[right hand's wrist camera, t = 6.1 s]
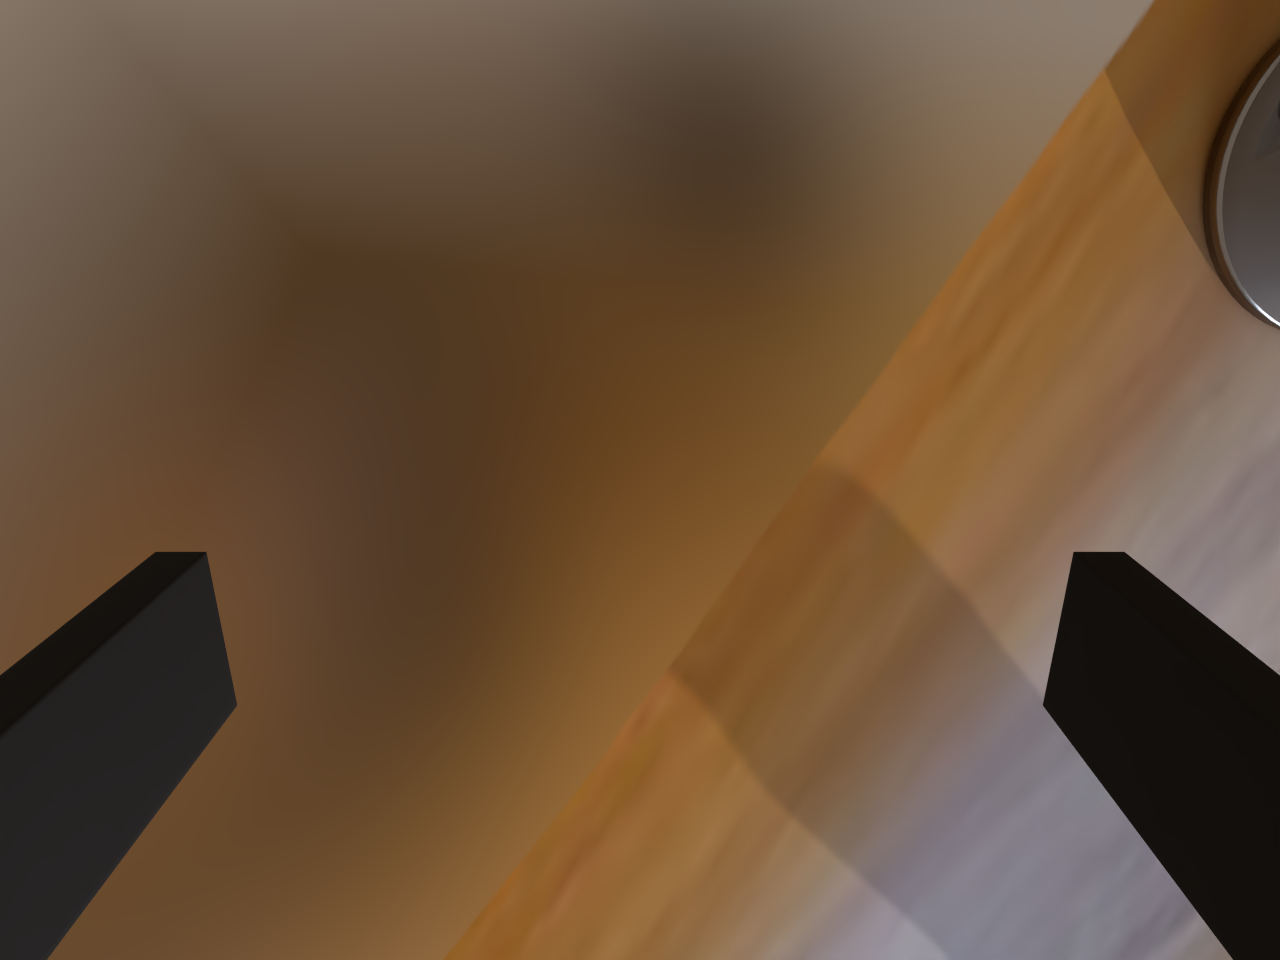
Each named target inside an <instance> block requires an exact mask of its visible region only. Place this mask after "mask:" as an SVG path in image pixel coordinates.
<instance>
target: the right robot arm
mask: <svg viewBox="0 0 1280 960" xmlns="http://www.w3.org/2000/svg"><path fill="white" fill-rule="evenodd" d="M1203 219H1204V230H1205V236H1206V242H1207V246H1208V249H1209V253H1210V256H1211V259H1212V262H1213V264H1214V266H1215V269H1216V271H1217V273H1218V275H1219V277H1220V279H1221V280H1222V282H1223V284H1224V285H1225V287H1226V288H1227V290H1228V291H1229V292H1230V294H1231V295H1232V296H1233V297H1234V298H1235V299H1236V301H1237V302H1238V303H1239V304H1240V305H1241V306H1242V307H1243V308H1245V309H1246V310H1247V311H1248V312H1249V313H1251V314H1252V315H1253V316H1255V317H1256V318H1258V319H1259V320H1261V321H1263V322H1264V323H1266V324H1268V325H1270V326H1272V327H1274V328H1276V329H1279V330H1280V40H1279V41H1278V42H1277V43H1276V44H1275V45H1274V46H1273V47H1272V48H1271V49H1270V50H1269V51H1268V53H1267V54H1266V55H1265V56H1264V57H1263V59H1262V60H1261V61H1260V62H1259V63H1258V65H1257V66H1256V67H1255V68H1254V70H1253V71H1252V73H1251V74H1250V75H1249V77H1248V78H1247V80H1246V81H1245V82H1244V84H1243V85H1242V87H1241V89H1240V90H1239V92H1238V94H1237V95H1236V97H1235V99H1234V100H1233V102H1232V104H1231V106H1230V108H1229V110H1228V112H1227V114H1226V116H1225V118H1224V120H1223V122H1222V125H1221V127H1220V129H1219V132H1218V134H1217V137H1216V140H1215V143H1214V146H1213V149H1212V152H1211V155H1210V159H1209V164H1208V168H1207V172H1206V179H1205V186H1204V196H1203ZM236 706H237V702H236V697H235V693H234V687H233V682H232V677H231V673H230V668H229V663H228V658H227V653H226V648H225V643H224V638H223V633H222V628H221V623H220V618H219V613H218V608H217V603H216V598H215V593H214V588H213V583H212V578H211V573H210V568H209V563H208V558H207V553H206V552H155V553H154V554H152V555H151V556H150V557H149V558H147V559H146V560H145V561H144V562H142V563H141V564H140V565H139V566H137V567H136V568H135V569H134V570H132V571H131V572H130V573H129V574H127V575H126V576H125V577H124V578H122V579H121V580H120V581H118V582H117V583H116V584H115V585H113V586H112V587H111V588H110V589H108V590H107V591H106V592H105V593H103V594H102V595H101V596H100V597H98V598H97V599H96V600H95V601H93V602H92V603H91V604H90V605H88V606H87V607H86V608H85V609H83V610H82V611H81V612H80V613H78V614H77V615H76V616H74V617H73V618H72V619H71V620H69V621H68V622H67V623H66V624H64V625H63V626H62V627H61V628H59V629H58V630H57V631H56V632H54V633H53V634H52V635H51V636H49V637H48V638H47V639H45V640H44V641H43V642H42V643H40V644H39V645H38V646H37V647H35V648H34V649H33V650H32V651H30V652H29V653H28V654H27V655H25V656H24V657H23V658H22V659H20V660H19V661H18V662H17V663H15V664H14V665H13V666H12V667H10V668H9V669H8V670H6V671H5V672H4V673H3V674H1V675H0V960H47V959H48V957H49V956H50V955H51V953H52V952H53V951H54V949H55V948H56V947H57V945H58V944H59V943H60V941H61V940H62V939H63V937H64V936H65V935H66V933H67V932H68V931H69V929H70V928H71V927H72V925H73V924H74V923H75V921H76V920H77V919H78V917H79V916H80V915H81V913H82V912H83V911H84V909H85V908H86V907H87V905H88V904H89V903H90V901H91V900H92V899H93V897H94V896H95V895H96V893H97V892H98V890H99V889H100V888H101V887H102V885H103V884H104V883H105V881H106V880H107V878H108V877H109V876H110V874H111V873H112V872H113V870H114V869H115V868H116V866H117V865H118V864H119V862H120V861H121V860H122V858H123V857H124V856H125V854H126V853H127V852H128V850H129V849H130V848H131V846H132V845H133V844H134V842H135V841H136V840H137V838H138V837H139V836H140V834H141V833H142V832H143V830H144V829H145V828H146V826H147V825H148V824H149V822H150V821H151V820H152V818H153V817H154V816H155V814H156V813H157V812H158V810H159V809H160V808H161V806H162V805H163V804H164V802H165V801H166V800H167V798H168V797H169V796H170V794H171V793H172V792H173V790H174V789H175V788H176V786H177V785H178V784H179V782H180V781H181V780H182V778H183V777H184V776H185V774H186V773H187V772H188V770H189V769H190V768H191V766H192V765H193V764H194V762H195V761H196V760H197V758H198V757H199V756H200V754H201V753H202V752H203V750H204V749H205V748H206V746H207V745H208V743H209V742H210V741H211V739H212V738H213V737H214V736H215V734H216V733H217V731H218V730H219V729H220V727H221V726H222V725H223V723H224V722H225V721H226V719H227V718H228V717H229V716H230V714H231V713H232V711H233V710H234V709H235V707H236ZM1043 706H1044V708H1045V709H1046V710H1047V712H1048V713H1049V714H1050V716H1051V717H1052V718H1053V720H1054V721H1055V722H1056V724H1057V725H1058V726H1059V728H1060V729H1061V730H1062V732H1063V733H1064V734H1065V736H1066V737H1067V738H1068V740H1069V741H1070V742H1071V744H1072V745H1073V746H1074V748H1075V749H1076V750H1077V752H1078V753H1079V754H1080V756H1081V757H1082V758H1083V760H1084V761H1085V762H1086V764H1087V765H1088V766H1089V768H1090V769H1091V770H1092V772H1093V773H1094V774H1095V776H1096V777H1097V778H1098V780H1099V781H1100V782H1101V784H1102V785H1103V786H1104V788H1105V789H1106V790H1107V792H1108V793H1109V794H1110V796H1111V797H1112V798H1113V800H1114V801H1115V802H1116V804H1117V805H1118V806H1119V808H1120V809H1121V810H1122V812H1123V813H1124V814H1125V816H1126V817H1127V818H1128V820H1129V821H1130V822H1131V824H1132V825H1133V826H1134V828H1135V829H1136V830H1137V832H1138V833H1139V834H1140V836H1141V837H1142V838H1143V840H1144V841H1145V842H1146V844H1147V845H1148V846H1149V848H1150V849H1151V850H1152V852H1153V853H1154V854H1155V856H1156V857H1157V858H1158V860H1159V861H1160V862H1161V864H1162V865H1163V866H1164V868H1165V869H1166V870H1167V872H1168V873H1169V874H1170V876H1171V877H1172V878H1173V880H1174V881H1175V883H1176V884H1177V885H1178V887H1179V888H1180V889H1181V891H1182V892H1183V893H1184V895H1185V896H1186V897H1187V899H1188V900H1189V901H1190V903H1191V904H1192V905H1193V907H1194V908H1195V909H1196V911H1197V912H1198V913H1199V915H1200V916H1201V917H1202V919H1203V920H1204V921H1205V923H1206V924H1207V925H1208V927H1209V928H1210V929H1211V931H1212V932H1213V933H1214V935H1215V936H1216V937H1217V939H1218V940H1219V941H1220V943H1221V944H1222V945H1223V947H1224V948H1225V949H1226V951H1227V952H1228V953H1229V955H1230V956H1231V957H1232V959H1233V960H1280V675H1279V674H1277V673H1276V672H1275V671H1274V670H1272V669H1271V668H1270V667H1268V666H1267V665H1266V664H1265V663H1263V662H1262V661H1261V660H1260V659H1258V658H1257V657H1256V656H1255V655H1253V654H1252V653H1251V652H1250V651H1248V650H1247V649H1246V648H1245V647H1243V646H1242V645H1241V644H1240V643H1238V642H1237V641H1236V640H1235V639H1233V638H1232V637H1231V636H1229V635H1228V634H1227V633H1226V632H1224V631H1223V630H1222V629H1221V628H1219V627H1218V626H1217V625H1216V624H1214V623H1213V622H1212V621H1211V620H1209V619H1208V618H1207V617H1206V616H1204V615H1203V614H1202V613H1201V612H1199V611H1198V610H1197V609H1195V608H1194V607H1193V606H1192V605H1190V604H1189V603H1188V602H1187V601H1185V600H1184V599H1183V598H1182V597H1180V596H1179V595H1178V594H1177V593H1175V592H1174V591H1173V590H1172V589H1170V588H1169V587H1168V586H1167V585H1165V584H1164V583H1163V582H1162V581H1160V580H1159V579H1158V578H1156V577H1155V576H1154V575H1153V574H1151V573H1150V572H1149V571H1148V570H1146V569H1145V568H1144V567H1143V566H1141V565H1140V564H1139V563H1138V562H1136V561H1135V560H1134V559H1133V558H1131V557H1130V556H1129V555H1128V554H1126V553H1125V552H1074V553H1073V558H1072V563H1071V568H1070V573H1069V578H1068V583H1067V588H1066V593H1065V598H1064V603H1063V608H1062V613H1061V618H1060V623H1059V628H1058V633H1057V638H1056V643H1055V648H1054V653H1053V658H1052V663H1051V667H1050V672H1049V677H1048V682H1047V687H1046V692H1045V697H1044V702H1043Z"/></svg>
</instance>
